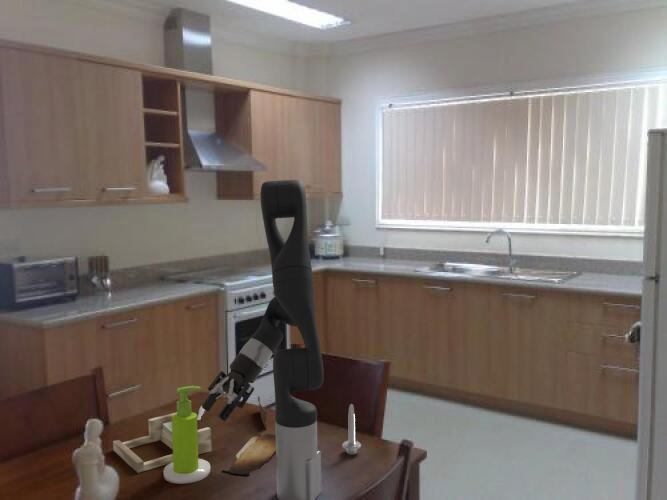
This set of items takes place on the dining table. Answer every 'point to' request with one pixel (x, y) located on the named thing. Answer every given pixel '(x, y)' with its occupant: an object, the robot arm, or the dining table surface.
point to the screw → (351, 434)
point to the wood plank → (262, 413)
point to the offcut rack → (157, 431)
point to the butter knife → (200, 413)
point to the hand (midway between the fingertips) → (212, 414)
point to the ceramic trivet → (187, 478)
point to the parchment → (254, 454)
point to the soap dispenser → (185, 434)
